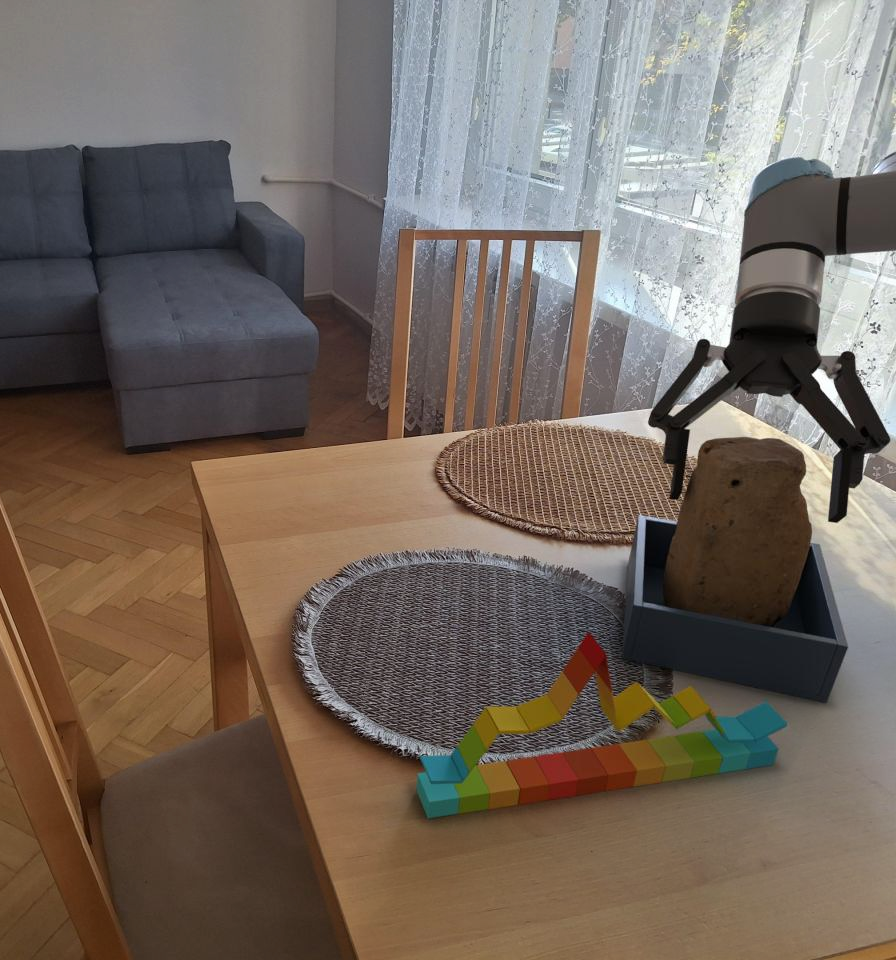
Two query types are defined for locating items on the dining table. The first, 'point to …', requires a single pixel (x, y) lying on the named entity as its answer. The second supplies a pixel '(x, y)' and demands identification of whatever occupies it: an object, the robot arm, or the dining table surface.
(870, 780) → the dining table surface
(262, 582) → the dining table surface
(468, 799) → the chart
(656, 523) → the grey storage tray
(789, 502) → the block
